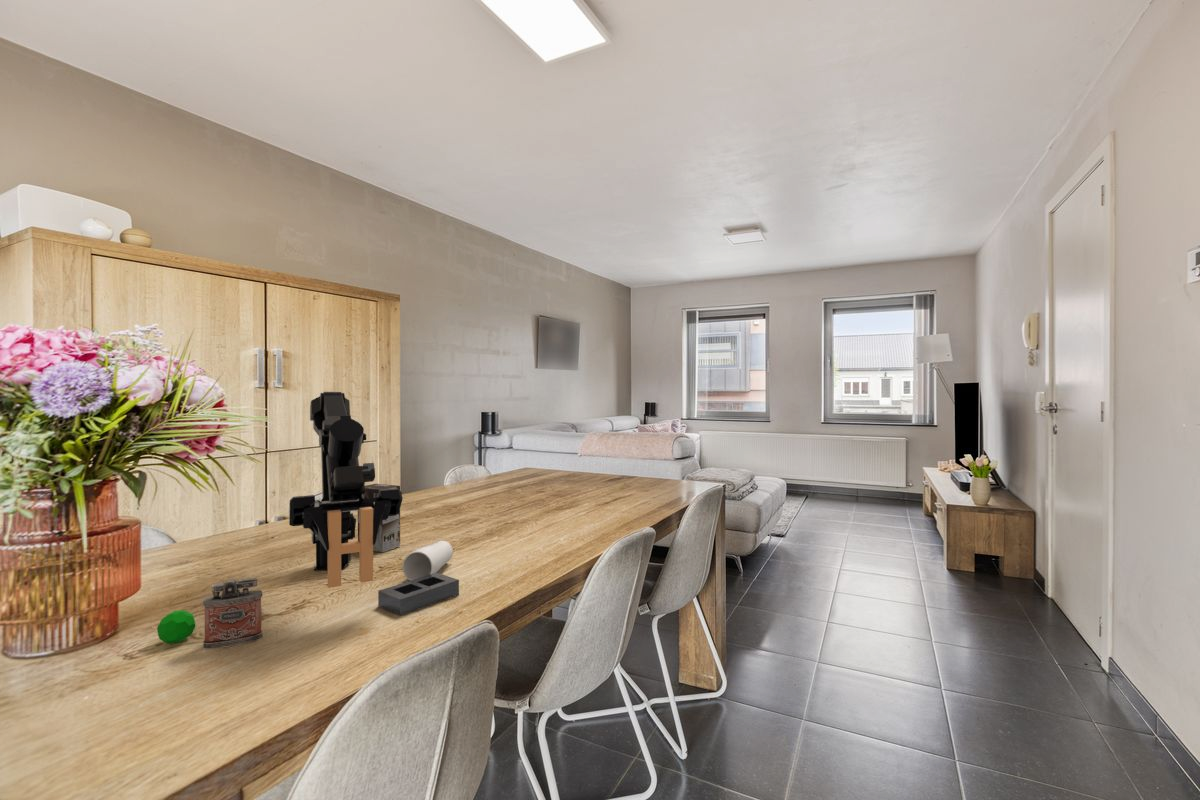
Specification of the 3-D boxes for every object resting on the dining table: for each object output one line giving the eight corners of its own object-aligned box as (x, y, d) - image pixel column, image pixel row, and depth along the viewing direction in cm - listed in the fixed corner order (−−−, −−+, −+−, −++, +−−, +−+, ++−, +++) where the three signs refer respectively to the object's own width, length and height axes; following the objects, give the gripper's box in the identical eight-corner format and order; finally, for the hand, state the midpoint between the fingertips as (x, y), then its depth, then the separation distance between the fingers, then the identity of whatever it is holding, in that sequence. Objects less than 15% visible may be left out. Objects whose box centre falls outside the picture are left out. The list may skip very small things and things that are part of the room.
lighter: (201, 651, 86) (201, 587, 86) (205, 642, 89) (204, 581, 89) (261, 640, 90) (261, 579, 90) (263, 632, 93) (263, 573, 93)
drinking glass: (457, 564, 130) (433, 582, 116) (430, 566, 131) (402, 584, 116) (455, 536, 131) (431, 549, 116) (428, 537, 131) (400, 552, 116)
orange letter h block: (328, 587, 95) (328, 513, 95) (327, 584, 97) (327, 511, 97) (372, 580, 99) (372, 508, 99) (371, 577, 101) (371, 506, 100)
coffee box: (401, 546, 144) (401, 485, 144) (382, 553, 138) (382, 489, 138) (376, 542, 148) (376, 482, 148) (356, 548, 142) (356, 486, 142)
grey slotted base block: (400, 615, 100) (400, 599, 100) (378, 606, 104) (378, 590, 104) (458, 594, 110) (458, 579, 110) (436, 586, 115) (436, 572, 115)
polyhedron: (179, 648, 87) (179, 618, 87) (149, 648, 87) (149, 618, 87) (202, 634, 92) (203, 606, 92) (173, 634, 92) (173, 606, 92)
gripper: (289, 451, 96) (291, 527, 87) (400, 446, 106) (413, 514, 96) (288, 489, 103) (290, 563, 94) (392, 481, 113) (403, 548, 103)
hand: (351, 546), depth 97 cm, fingers closed on orange letter h block, 7 cm apart
